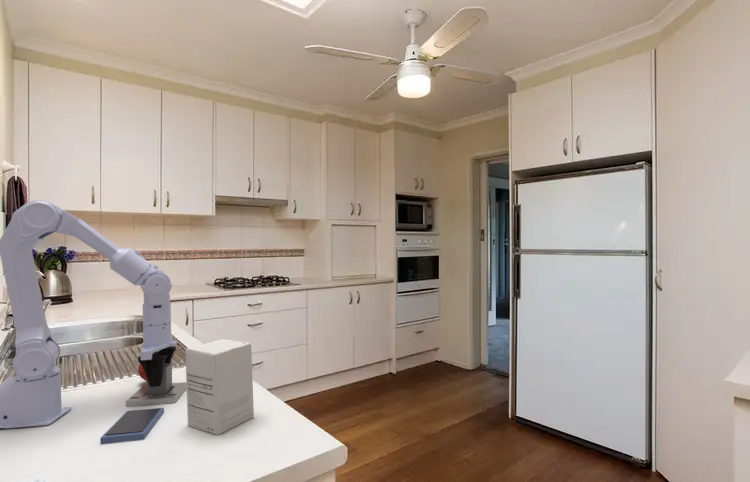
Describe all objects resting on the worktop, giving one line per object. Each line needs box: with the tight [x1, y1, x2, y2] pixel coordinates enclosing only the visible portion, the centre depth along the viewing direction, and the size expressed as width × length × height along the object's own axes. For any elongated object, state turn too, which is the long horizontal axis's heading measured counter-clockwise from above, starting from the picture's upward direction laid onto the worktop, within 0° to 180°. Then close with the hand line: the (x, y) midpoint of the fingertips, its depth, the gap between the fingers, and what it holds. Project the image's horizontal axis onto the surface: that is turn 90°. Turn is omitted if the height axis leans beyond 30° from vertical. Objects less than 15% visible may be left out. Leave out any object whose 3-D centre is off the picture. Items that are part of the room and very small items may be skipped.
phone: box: [99, 407, 165, 445], centre depth 80 cm, size 7×12×2 cm, turn 11°
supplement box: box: [184, 338, 255, 436], centre depth 81 cm, size 9×9×15 cm
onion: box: [137, 363, 147, 382], centre depth 104 cm, size 6×6×8 cm
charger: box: [146, 362, 173, 396], centre depth 95 cm, size 4×4×6 cm
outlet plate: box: [125, 381, 187, 408], centre depth 95 cm, size 10×10×1 cm
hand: (158, 382), depth 95 cm, fingers closed on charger, 4 cm apart
